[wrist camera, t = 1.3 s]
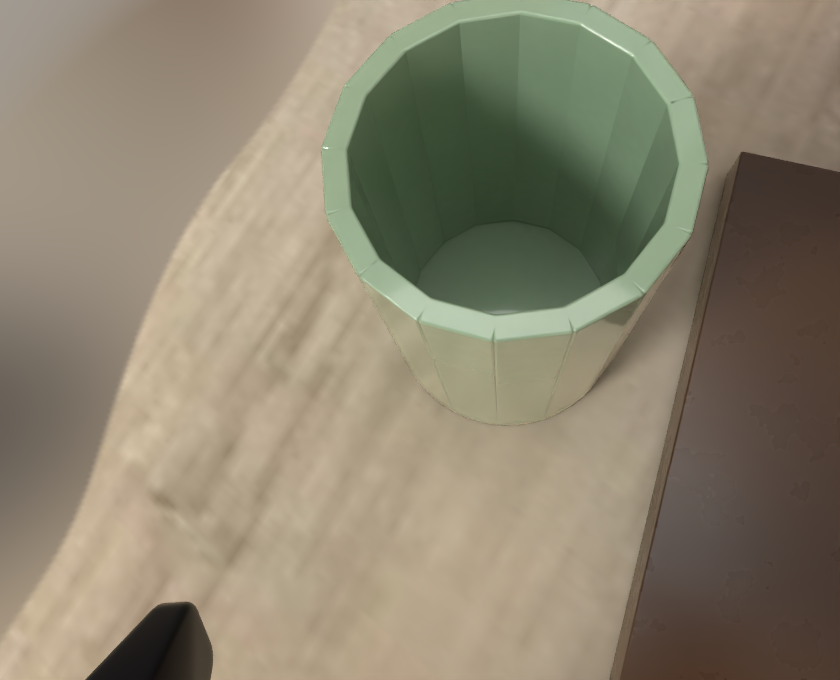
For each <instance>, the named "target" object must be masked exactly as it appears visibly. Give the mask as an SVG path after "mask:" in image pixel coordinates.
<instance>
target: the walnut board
mask: <svg viewBox="0 0 840 680" xmlns="http://www.w3.org/2000/svg"><path fill="white" fill-rule="evenodd" d="M610 680H840V172H836V171H832V170H827V169H822V168H817V167H813V166H808V165H803V164H798V163H794V162H789V161H784V160H779V159H775V158H770V157H765V156H760V155H756V154H751V153H746V152H741V153H740V155H739V157H738V158H737V160H736V161H735V163H734V165H733V166H732V168H731V169H730V171H729V173H728V174H727V178H726V182H725V186H724V191H723V195H722V199H721V203H720V208H719V212H718V216H717V221H716V225H715V229H714V234H713V238H712V242H711V246H710V251H709V255H708V259H707V264H706V268H705V272H704V276H703V281H702V285H701V289H700V294H699V298H698V302H697V306H696V311H695V315H694V319H693V324H692V328H691V332H690V337H689V341H688V345H687V349H686V354H685V358H684V362H683V367H682V371H681V375H680V379H679V384H678V388H677V392H676V397H675V401H674V405H673V410H672V414H671V418H670V422H669V427H668V431H667V435H666V440H665V444H664V448H663V452H662V457H661V461H660V465H659V470H658V474H657V478H656V483H655V487H654V491H653V495H652V500H651V504H650V508H649V513H648V517H647V521H646V525H645V530H644V534H643V538H642V543H641V547H640V551H639V555H638V560H637V564H636V568H635V573H634V577H633V581H632V586H631V590H630V594H629V598H628V603H627V607H626V611H625V616H624V620H623V624H622V628H621V633H620V637H619V641H618V646H617V650H616V654H615V659H614V663H613V667H612V671H611V676H610Z"/></svg>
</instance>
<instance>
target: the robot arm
mask: <svg viewBox="0 0 840 680" xmlns="http://www.w3.org/2000/svg"><path fill="white" fill-rule="evenodd" d="M212 666H213V650H212V645H211V642H210V640H209V637H208V635H207V632H206V630H205V627H204V625H203V622H202V620H201V617H200V615H199V613H198V610H197V608H196V606H195V605H194V604H192V603H191V602H174V603H163V604H160V605H158V606H156V607H155V608H154V609H152V610H151V611H150V612H149V614H148V615H147V616H146V617H145V618H144V619H143V620H142V621H141V622H140V623H139V624H138V625H137V626H136V627H135V628H134V629H133V630H132V631H131V632H130V633H129V634H128V636H127V637H126V638H125V639H124V640H123V641H122V642H121V643H120V644H119V645H118V646H117V647H116V648H115V649H114V650H113V651H112V652H111V653H110V654H109V655H108V657H107V658H106V659H105V660H104V661H103V662H102V663H101V664H100V665H99V666H98V667H97V668H96V669H95V670H94V671H93V672H92V673H91V674H90V675H89V676H88V677H87V679H86V680H210V679H211V673H212Z"/></svg>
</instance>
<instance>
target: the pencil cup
mask: <svg viewBox="0 0 840 680" xmlns="http://www.w3.org/2000/svg"><path fill="white" fill-rule="evenodd" d="M321 157H322V172H323V187H324V203H325V214H326V215H327V220H328V222H329V224H330V226H331V227H332V229H333V231H334V233H335V235H336V237H337V239H338V240H339V242H340V244H341V246H342V248H343V250H344V252H345V253H346V255H347V257H348V259H349V261H350V263H351V265H352V266H353V268H354V270H355V272H356V274H357V276H358V277H359V279H360V281H361V283H362V285H363V286H364V288H365V290H366V292H367V293H368V295H369V297H370V299H371V300H372V302H373V304H374V306H375V308H376V309H377V311H378V313H379V315H380V316H381V318H382V320H383V322H384V323H385V325H386V327H387V329H388V331H389V332H390V334H391V336H392V338H393V339H394V341H395V343H396V345H397V346H398V348H399V350H400V352H401V354H402V355H403V357H404V359H405V361H406V362H407V364H408V366H409V368H410V370H411V371H412V373H413V375H414V377H415V378H416V380H417V381H418V382H419V384H420V385H421V386H422V387H424V389H425V390H426V391H427V392H428V393H429V394H430V395H431V396H432V397H433V398H435V399H436V400H437V401H438V402H439V403H441V404H442V405H444V406H445V407H446V408H448V409H449V410H451V411H453V412H455V413H457V414H459V415H461V416H463V417H466V418H469V419H471V420H474V421H478V422H482V423H487V424H493V425H504V426H506V425H522V424H528V423H534V422H537V421H540V420H544V419H547V418H549V417H552V416H554V415H556V414H558V413H560V412H562V411H564V410H565V409H567V408H569V407H570V406H572V405H573V404H575V403H576V402H577V401H578V400H579V399H581V398H582V397H583V396H584V395H586V393H587V392H588V391H589V390H590V389H591V388H592V387H593V385H594V384H595V383H596V382H597V380H598V379H599V377H600V376H601V374H602V373H603V372H604V371H605V369H606V368H607V367H608V365H609V364H610V363H611V361H612V360H613V358H614V357H615V355H616V354H617V352H618V350H619V349H620V347H621V346H622V344H623V343H624V341H625V339H626V338H627V336H628V335H629V333H630V332H631V330H632V328H633V327H634V325H635V324H636V322H637V321H638V319H639V317H640V316H641V314H642V313H643V311H644V310H645V308H646V306H647V305H648V303H649V302H650V300H651V299H652V297H653V295H654V294H655V292H656V291H657V289H658V288H659V286H660V284H661V283H662V281H663V280H664V278H665V277H666V275H667V273H668V272H669V270H670V269H671V267H672V266H673V264H674V262H675V261H676V259H677V258H678V256H679V255H680V253H681V251H682V250H683V248H684V247H685V245H686V244H687V242H688V240H689V239H690V236H691V234H692V233H693V230H694V225H695V221H696V217H697V213H698V209H699V205H700V200H701V196H702V192H703V188H704V184H705V180H706V175H707V171H708V158H707V154H706V149H705V144H704V140H703V135H702V131H701V126H700V121H699V117H698V112H697V107H696V103H695V99H694V97H693V94H692V92H691V91H690V90H689V88H688V87H687V86H686V84H685V83H684V82H683V80H682V79H681V78H680V76H679V75H678V74H677V72H676V71H675V70H674V68H673V67H672V66H671V64H670V63H669V62H668V60H667V59H666V58H665V56H664V55H663V54H662V52H661V51H660V50H659V48H658V47H657V46H656V44H655V43H654V42H653V41H652V42H651V40H650V39H649V38H648V37H646V36H644V35H643V34H641V33H639V32H638V31H636V30H634V29H633V28H631V27H629V26H628V25H626V24H624V23H623V22H621V21H619V20H617V19H616V18H614V17H612V16H611V15H609V14H607V13H606V12H604V11H602V10H601V9H599V8H597V7H596V6H593V5H592V6H591V5H590V4H588V3H582V2H577V1H571V0H463V1H457V2H453V4H451V3H449V4H447V5H445V6H443V7H441V8H439V9H438V10H436V11H434V12H432V13H430V14H428V15H426V16H424V17H422V18H421V19H419V20H417V21H415V22H413V23H411V24H409V25H407V26H405V27H404V28H402V29H400V30H398V31H396V32H394V33H392V34H391V37H390V36H389V37H388V38H387V39H386V40H385V41H384V42H383V43H382V44H381V45H380V46H379V48H378V49H377V50H376V51H375V52H374V53H373V54H372V55H371V56H370V58H369V59H368V60H367V61H366V62H365V63H364V64H363V65H362V66H361V68H360V69H359V70H358V71H357V72H356V73H355V74H354V75H353V76H352V78H351V79H350V80H349V81H348V82H347V83H346V85H345V87H344V88H343V90H342V93H341V95H340V98H339V101H338V104H337V106H336V109H335V112H334V115H333V117H332V120H331V123H330V126H329V128H328V131H327V134H326V136H325V139H324V142H323V145H322V151H321Z"/></svg>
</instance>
